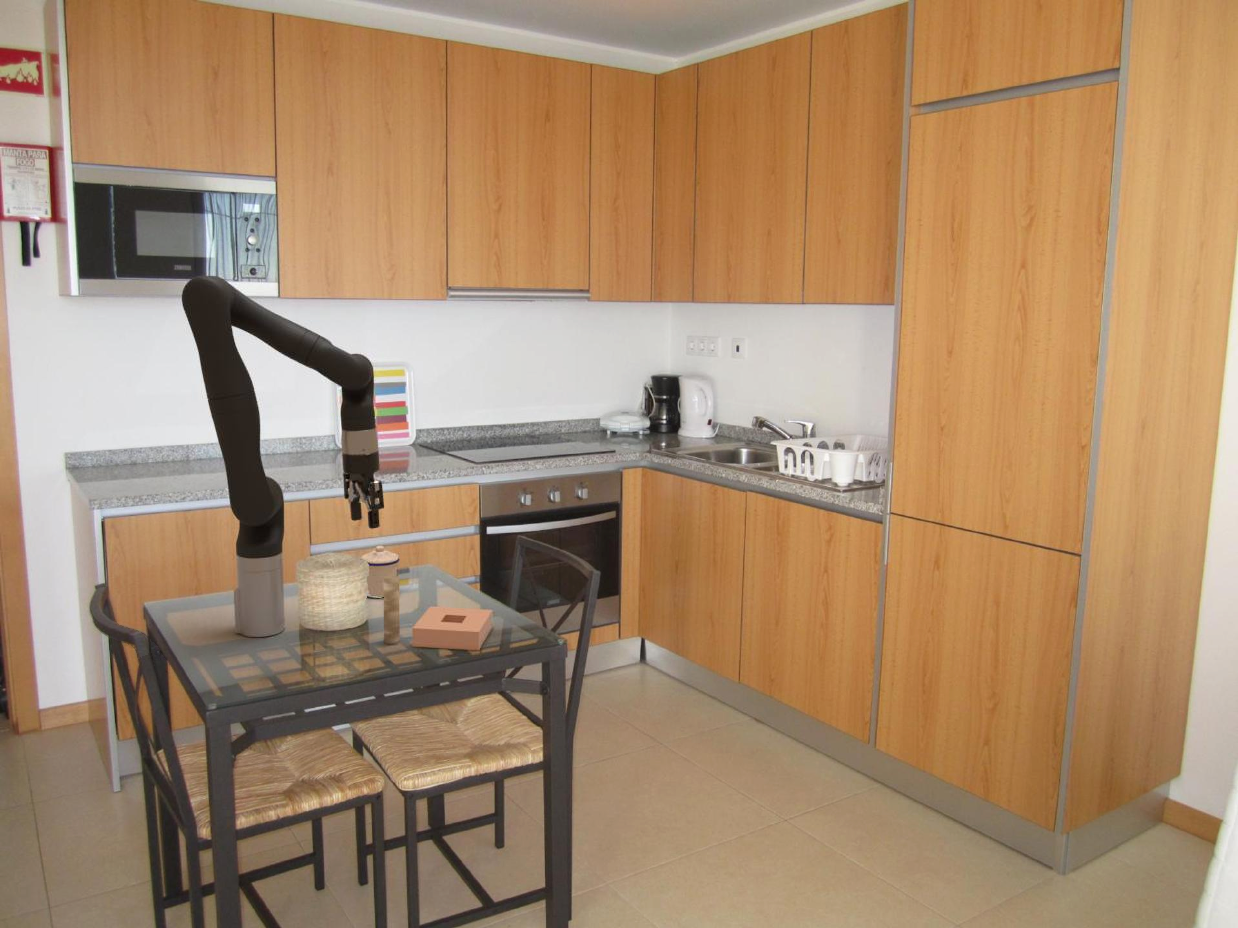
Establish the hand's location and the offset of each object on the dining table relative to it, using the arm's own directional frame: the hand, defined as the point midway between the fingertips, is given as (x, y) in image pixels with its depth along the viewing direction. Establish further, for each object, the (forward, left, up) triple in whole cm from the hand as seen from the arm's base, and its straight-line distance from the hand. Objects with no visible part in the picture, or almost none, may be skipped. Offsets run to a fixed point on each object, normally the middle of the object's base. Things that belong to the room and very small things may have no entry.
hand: (365, 523), depth 217 cm
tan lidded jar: (-5, +24, -24) cm, 34 cm away
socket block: (+20, -3, -23) cm, 31 cm away
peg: (+8, -8, -23) cm, 26 cm away
